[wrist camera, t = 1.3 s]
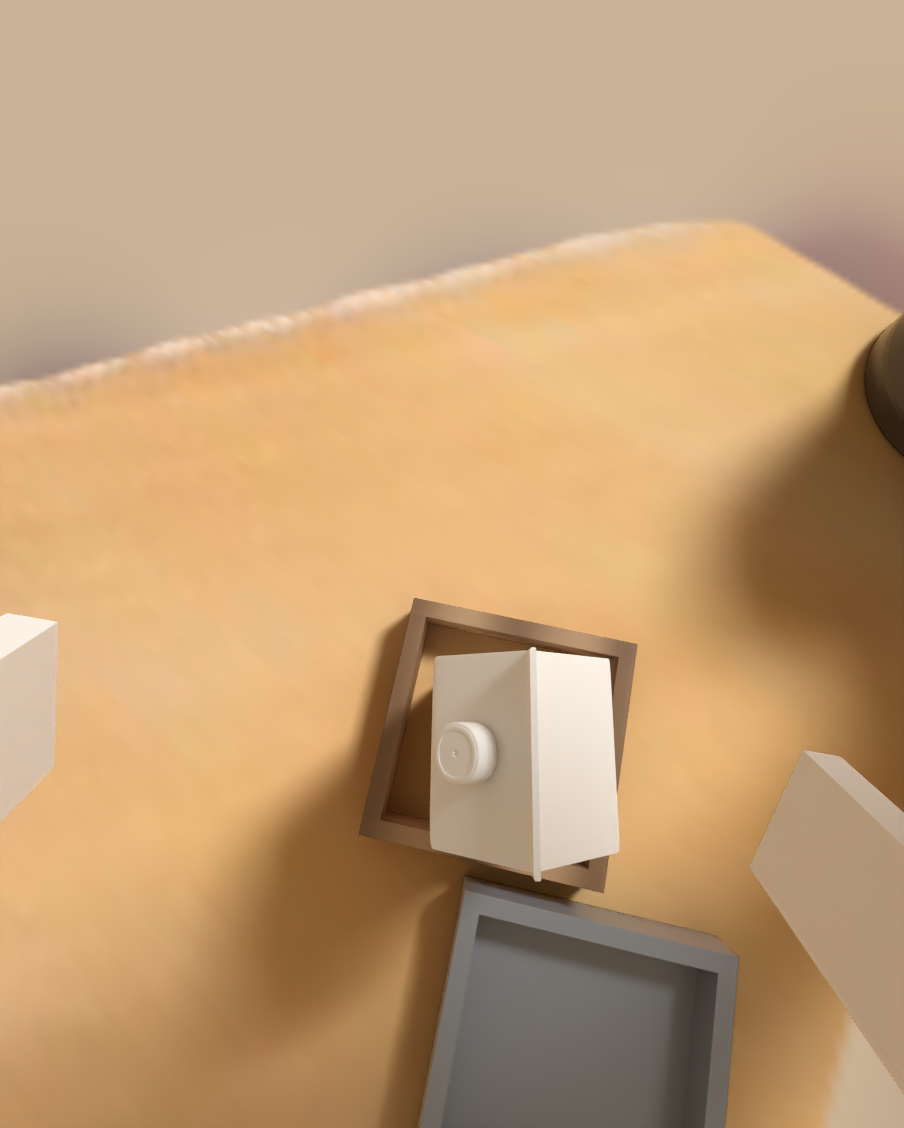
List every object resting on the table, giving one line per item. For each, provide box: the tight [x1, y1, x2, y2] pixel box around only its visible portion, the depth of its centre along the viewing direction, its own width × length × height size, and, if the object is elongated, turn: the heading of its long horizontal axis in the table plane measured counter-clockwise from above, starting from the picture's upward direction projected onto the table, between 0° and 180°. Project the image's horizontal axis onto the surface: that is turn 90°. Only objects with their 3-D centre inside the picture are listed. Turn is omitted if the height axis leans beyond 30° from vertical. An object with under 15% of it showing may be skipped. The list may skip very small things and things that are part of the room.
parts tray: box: [417, 875, 739, 1128], centre depth 31 cm, size 15×15×3 cm
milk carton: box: [430, 647, 619, 882], centre depth 27 cm, size 7×7×19 cm
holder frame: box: [359, 598, 637, 893], centre depth 35 cm, size 14×14×3 cm
